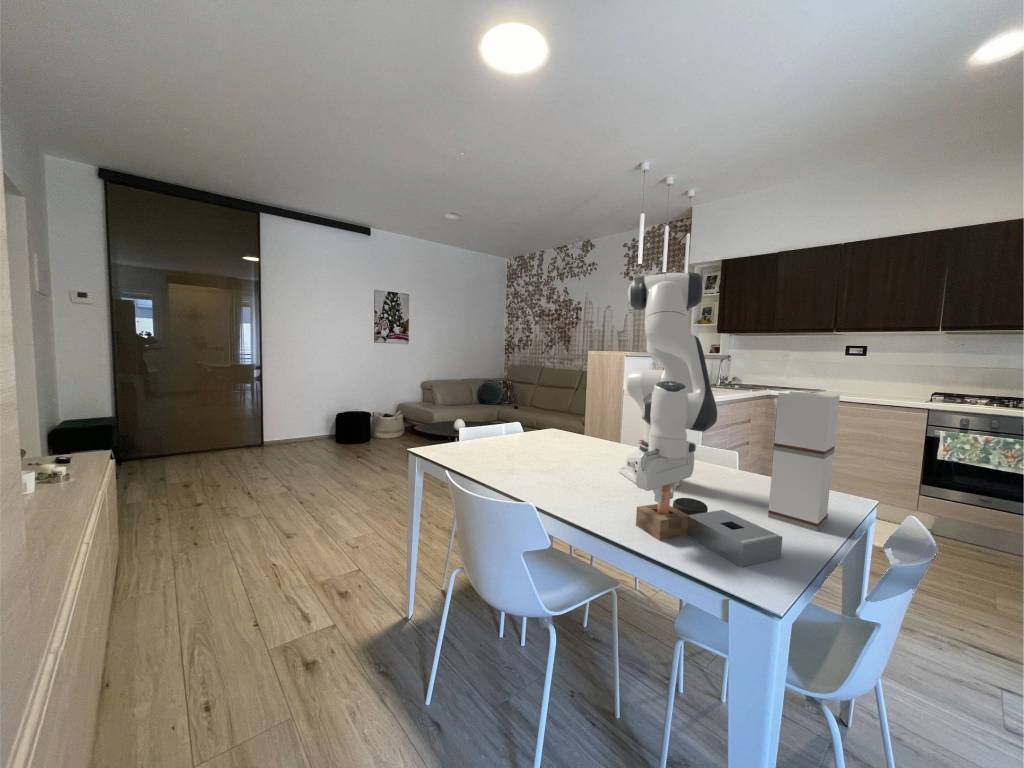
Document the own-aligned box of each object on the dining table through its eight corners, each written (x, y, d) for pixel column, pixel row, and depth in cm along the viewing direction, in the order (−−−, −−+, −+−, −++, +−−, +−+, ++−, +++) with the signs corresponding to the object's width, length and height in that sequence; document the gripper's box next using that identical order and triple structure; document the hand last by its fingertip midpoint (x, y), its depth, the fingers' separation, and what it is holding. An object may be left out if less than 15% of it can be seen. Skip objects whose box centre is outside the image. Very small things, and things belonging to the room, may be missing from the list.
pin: (654, 525, 107) (656, 483, 106) (663, 523, 108) (665, 482, 107) (661, 530, 104) (664, 487, 103) (670, 528, 105) (673, 486, 104)
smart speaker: (689, 508, 121) (690, 495, 121) (714, 520, 113) (715, 506, 113) (665, 512, 118) (666, 498, 118) (689, 525, 110) (690, 510, 109)
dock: (685, 534, 103) (686, 514, 103) (721, 528, 108) (723, 509, 107) (741, 567, 89) (743, 543, 88) (780, 558, 93) (782, 535, 92)
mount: (635, 525, 108) (636, 506, 108) (663, 520, 112) (664, 502, 111) (659, 540, 100) (660, 520, 100) (688, 535, 103) (689, 516, 103)
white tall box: (827, 520, 115) (839, 395, 111) (817, 531, 108) (830, 397, 104) (780, 508, 123) (790, 391, 120) (767, 517, 116) (778, 393, 113)
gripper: (653, 455, 95) (650, 513, 96) (700, 444, 107) (696, 495, 109) (630, 449, 100) (628, 504, 101) (677, 439, 112) (674, 488, 114)
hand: (663, 500), depth 105 cm, fingers closed on pin, 3 cm apart
